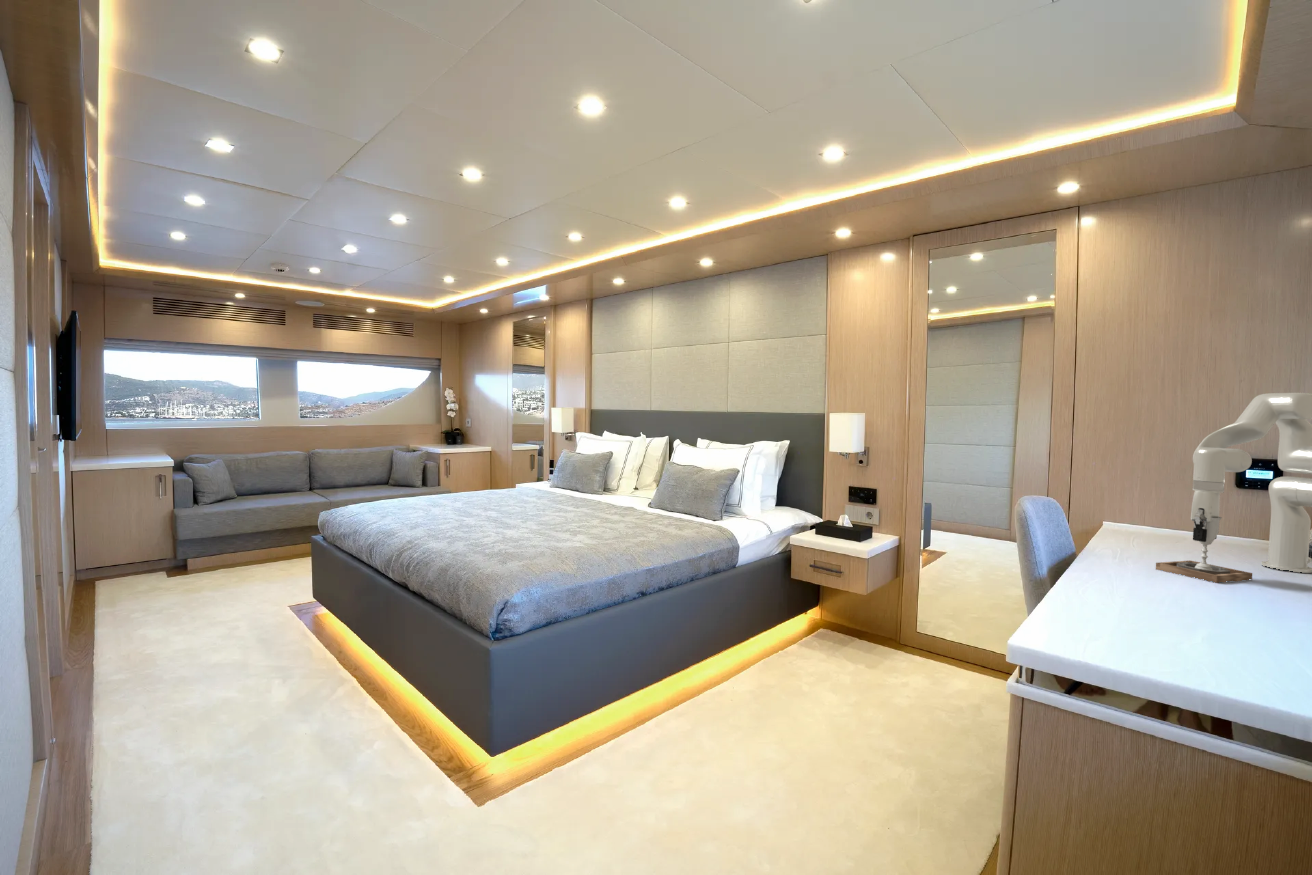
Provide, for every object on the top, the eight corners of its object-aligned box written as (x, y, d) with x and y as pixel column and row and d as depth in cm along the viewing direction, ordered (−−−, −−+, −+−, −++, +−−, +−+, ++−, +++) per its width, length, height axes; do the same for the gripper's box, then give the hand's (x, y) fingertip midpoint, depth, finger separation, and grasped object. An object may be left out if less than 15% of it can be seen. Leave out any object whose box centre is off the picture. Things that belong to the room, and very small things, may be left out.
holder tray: (1189, 566, 208) (1190, 559, 208) (1251, 579, 192) (1252, 572, 192) (1155, 569, 202) (1156, 561, 202) (1216, 583, 186) (1216, 574, 186)
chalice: (1224, 574, 193) (1228, 518, 193) (1202, 573, 194) (1206, 517, 193) (1204, 568, 201) (1207, 514, 200) (1183, 567, 201) (1186, 513, 200)
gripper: (1202, 484, 204) (1198, 535, 205) (1183, 486, 194) (1180, 539, 195) (1232, 487, 198) (1228, 539, 198) (1214, 489, 188) (1211, 544, 189)
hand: (1204, 539), depth 197 cm, fingers open, 9 cm apart
